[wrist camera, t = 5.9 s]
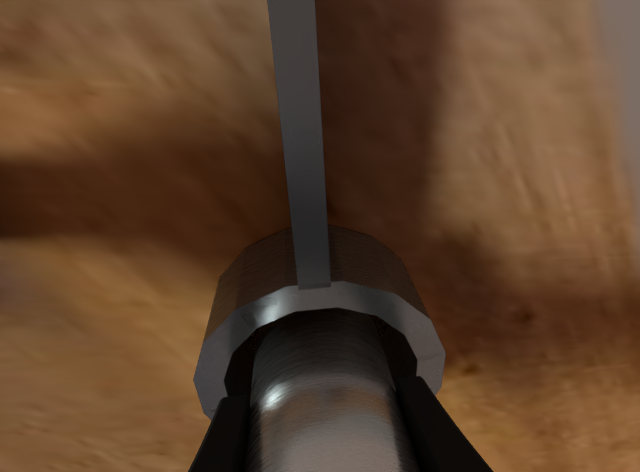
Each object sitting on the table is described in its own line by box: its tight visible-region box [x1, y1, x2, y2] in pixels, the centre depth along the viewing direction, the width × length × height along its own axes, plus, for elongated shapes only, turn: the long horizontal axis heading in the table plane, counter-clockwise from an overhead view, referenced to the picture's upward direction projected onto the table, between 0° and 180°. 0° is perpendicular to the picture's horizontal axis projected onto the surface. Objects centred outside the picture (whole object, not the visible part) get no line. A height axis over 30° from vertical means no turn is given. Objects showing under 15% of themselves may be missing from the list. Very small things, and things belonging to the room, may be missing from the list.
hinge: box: [193, 0, 446, 420], centre depth 12 cm, size 21×7×3 cm, turn 3°
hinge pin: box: [244, 307, 420, 472], centre depth 9 cm, size 4×4×7 cm
